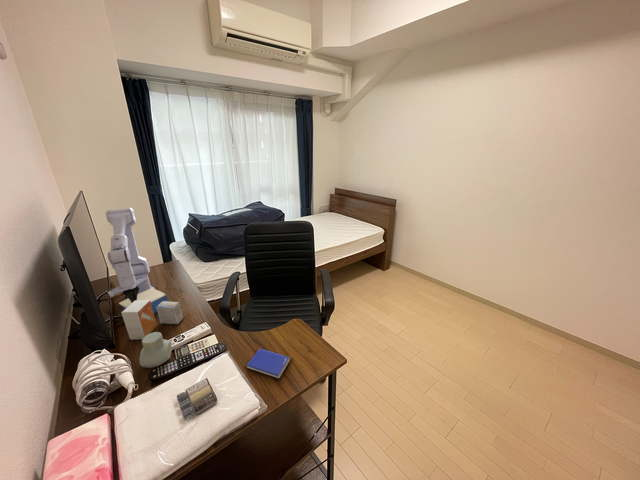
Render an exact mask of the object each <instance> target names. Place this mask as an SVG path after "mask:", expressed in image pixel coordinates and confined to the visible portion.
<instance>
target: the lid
mask: <svg viewBox="0 0 640 480" xmlns="http://www.w3.org/2000/svg"><path fill="white" fill-rule="evenodd" d="M154 288H155V287H154ZM154 288H150V289H148V290H146V291H144V292H142V293H139V294H138V295H137V300H150V302H151V303H152V302H154V301H156V300H158V299H160V298H162V297H164V296H166V297H167V294H166V293H165V292H162V291H161V290H158V289H156V288H155V289H154ZM118 304H119V305H120V306H121V307H122V306H123V307H125V308H127V307H128V306H129V305H130V304H131V301H130V300H129V298H128V297H127V298H125V299H124V300H122V301H120V302H118ZM123 307H122V308H123Z"/></svg>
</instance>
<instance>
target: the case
mask: <svg viewBox="0 0 640 480" xmlns="http://www.w3.org/2000/svg"><path fill="white" fill-rule="evenodd" d="M163 301H167V302H169V301H168V297H167V295H166V296H164V297H162V298H160V299H158V300H156V301H154V302H152V303H151V306H152V310H153V313H154V314H157V313H158V312H157V309H156V307H157V306H158V305H159V304H160V303H161V302H163ZM121 307H122V311H124V310H125V309H126V308H125V307H123V306H122V305H121Z"/></svg>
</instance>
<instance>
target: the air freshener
mask: <svg viewBox="0 0 640 480" xmlns="http://www.w3.org/2000/svg"><path fill="white" fill-rule="evenodd" d="M141 344H142V349H141V350H140V354H139V359H138V360H139V365H140V366H141V367H143V368H148V369H151V368H155V367H159V366H161V365H163V364H164V363H166V362H167V361H168V360H169V359H170V358H171V355H172V349H173V348H172V347H173V346H172V342H171V341H170V340H169V339H165V338H163V335H162V333H161V332H159V331H154V332H153V331H152V332H151V333H150V334H148V335H146V336H145V337H144V338H143V339H141Z"/></svg>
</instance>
